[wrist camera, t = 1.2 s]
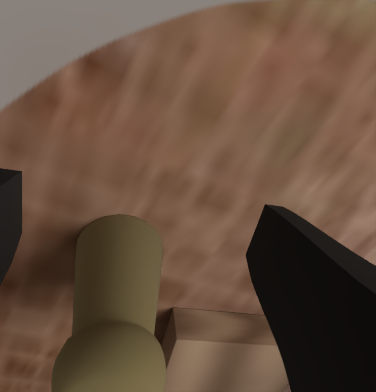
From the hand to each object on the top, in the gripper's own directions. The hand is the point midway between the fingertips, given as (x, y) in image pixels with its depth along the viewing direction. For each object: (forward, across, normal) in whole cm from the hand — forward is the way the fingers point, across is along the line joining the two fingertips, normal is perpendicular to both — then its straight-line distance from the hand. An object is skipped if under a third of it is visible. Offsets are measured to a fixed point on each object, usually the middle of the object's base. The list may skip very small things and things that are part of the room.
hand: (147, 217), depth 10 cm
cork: (+11, 0, +10) cm, 15 cm away
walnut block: (+10, -10, +21) cm, 25 cm away
